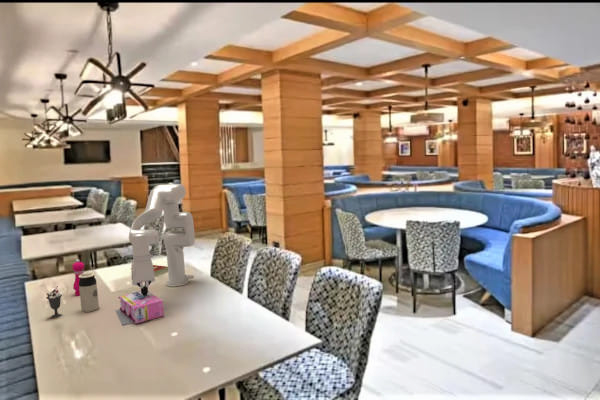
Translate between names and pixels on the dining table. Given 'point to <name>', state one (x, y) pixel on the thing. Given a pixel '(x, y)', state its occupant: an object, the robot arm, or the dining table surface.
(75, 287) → the pepper mill
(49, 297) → the sundae
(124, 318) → the rubber mat
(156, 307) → the gum box
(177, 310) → the dining table surface
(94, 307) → the travel mug
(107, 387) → the dining table surface
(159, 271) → the hardcover book
